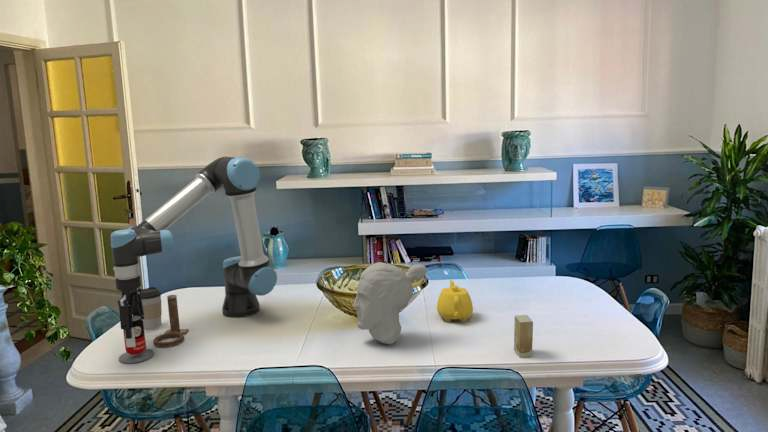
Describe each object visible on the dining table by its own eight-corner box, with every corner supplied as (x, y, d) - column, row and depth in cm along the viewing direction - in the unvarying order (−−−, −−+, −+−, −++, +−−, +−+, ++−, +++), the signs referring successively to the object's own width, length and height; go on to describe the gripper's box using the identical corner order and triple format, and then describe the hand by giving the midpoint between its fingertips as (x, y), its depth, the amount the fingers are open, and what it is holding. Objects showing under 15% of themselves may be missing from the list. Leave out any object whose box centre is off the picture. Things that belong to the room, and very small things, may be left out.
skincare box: (513, 350, 186) (513, 314, 184) (526, 349, 187) (526, 314, 185) (519, 358, 180) (520, 321, 178) (532, 357, 180) (533, 321, 178)
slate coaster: (158, 349, 196) (158, 347, 196) (147, 363, 185) (147, 361, 185) (126, 351, 195) (126, 349, 195) (113, 364, 185) (113, 363, 184)
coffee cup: (155, 331, 213) (151, 293, 211) (134, 330, 215) (130, 292, 212) (169, 322, 222) (165, 286, 219) (148, 321, 224) (144, 285, 221)
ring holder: (191, 330, 213) (188, 293, 210) (179, 346, 198) (175, 306, 195) (164, 331, 212) (160, 294, 210) (149, 348, 197) (145, 308, 195)
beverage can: (122, 356, 187) (118, 321, 185) (131, 348, 193) (127, 315, 191) (141, 355, 187) (137, 321, 185) (149, 348, 193) (145, 314, 191)
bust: (352, 335, 203) (349, 260, 199) (422, 328, 208) (421, 255, 203) (357, 351, 189) (354, 271, 184) (432, 344, 193) (431, 265, 188)
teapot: (438, 326, 210) (438, 293, 207) (435, 308, 229) (434, 278, 227) (475, 325, 209) (475, 292, 207) (469, 307, 229) (468, 277, 227)
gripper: (127, 269, 195) (134, 332, 199) (103, 285, 176) (111, 355, 180) (149, 268, 195) (156, 331, 199) (127, 284, 176) (135, 353, 180)
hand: (135, 342), depth 189 cm, fingers closed on beverage can, 6 cm apart
